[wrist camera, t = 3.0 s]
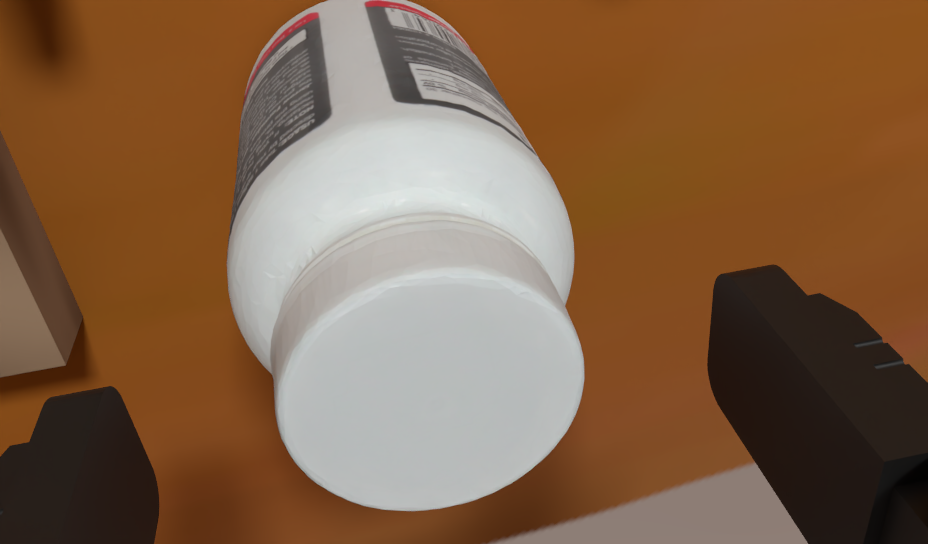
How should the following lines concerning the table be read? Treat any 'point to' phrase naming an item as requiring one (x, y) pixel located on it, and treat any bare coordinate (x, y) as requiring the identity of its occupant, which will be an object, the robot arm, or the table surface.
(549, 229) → the pill bottle
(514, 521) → the table surface
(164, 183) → the table surface
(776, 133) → the table surface
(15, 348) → the bar
